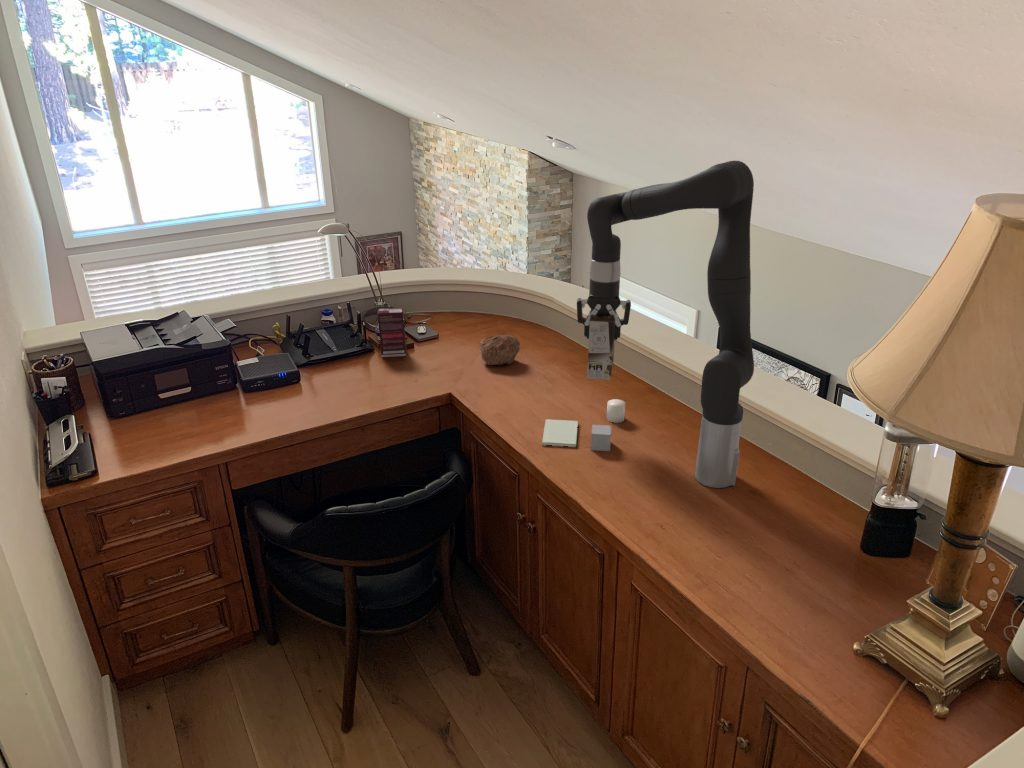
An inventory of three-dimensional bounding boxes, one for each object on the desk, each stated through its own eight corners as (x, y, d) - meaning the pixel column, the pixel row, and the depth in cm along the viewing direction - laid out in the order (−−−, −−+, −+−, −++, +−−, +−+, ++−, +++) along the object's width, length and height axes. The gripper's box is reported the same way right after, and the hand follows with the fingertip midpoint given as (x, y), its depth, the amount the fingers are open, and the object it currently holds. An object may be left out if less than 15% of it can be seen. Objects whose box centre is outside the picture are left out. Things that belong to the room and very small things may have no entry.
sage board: (577, 424, 211) (577, 421, 211) (575, 447, 200) (575, 443, 199) (545, 422, 212) (545, 419, 212) (541, 445, 201) (542, 442, 200)
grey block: (610, 442, 202) (611, 425, 200) (609, 451, 198) (610, 434, 196) (591, 441, 203) (592, 424, 201) (590, 450, 199) (591, 433, 196)
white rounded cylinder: (624, 415, 216) (625, 399, 214) (624, 423, 212) (625, 407, 210) (606, 414, 217) (607, 398, 215) (606, 422, 212) (607, 406, 210)
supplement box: (406, 350, 260) (403, 307, 253) (406, 356, 256) (403, 312, 249) (381, 352, 259) (377, 308, 253) (380, 357, 255) (377, 313, 248)
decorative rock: (522, 357, 255) (522, 329, 250) (516, 370, 245) (516, 342, 240) (484, 354, 257) (483, 327, 253) (476, 367, 247) (476, 339, 243)
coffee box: (611, 380, 195) (614, 321, 189) (586, 378, 197) (588, 320, 190) (613, 366, 204) (617, 310, 197) (590, 364, 205) (592, 308, 198)
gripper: (575, 280, 186) (573, 342, 193) (634, 281, 185) (630, 344, 192) (576, 271, 193) (575, 332, 200) (633, 273, 192) (629, 334, 199)
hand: (602, 338), depth 196 cm, fingers closed on coffee box, 6 cm apart
